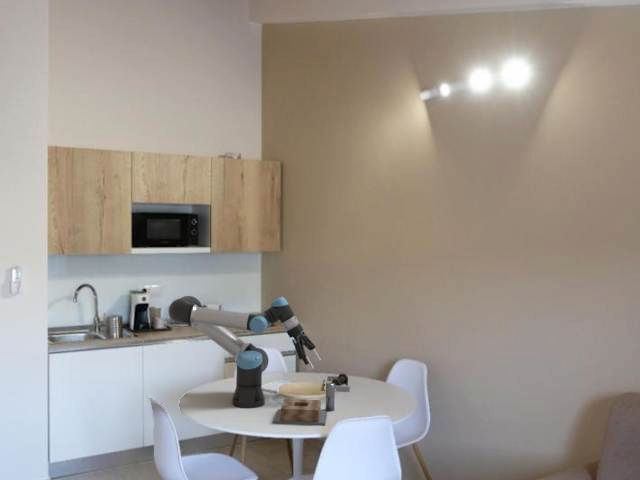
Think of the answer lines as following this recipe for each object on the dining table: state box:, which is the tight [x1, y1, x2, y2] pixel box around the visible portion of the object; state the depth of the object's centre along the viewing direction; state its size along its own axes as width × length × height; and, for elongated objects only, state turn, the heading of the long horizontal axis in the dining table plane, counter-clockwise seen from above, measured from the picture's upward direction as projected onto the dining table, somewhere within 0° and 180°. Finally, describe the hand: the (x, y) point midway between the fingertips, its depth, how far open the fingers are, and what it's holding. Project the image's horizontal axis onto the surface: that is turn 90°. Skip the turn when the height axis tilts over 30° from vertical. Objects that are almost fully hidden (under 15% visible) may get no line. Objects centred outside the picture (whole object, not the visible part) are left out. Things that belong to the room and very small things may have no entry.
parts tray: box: [323, 375, 351, 392], centre depth 351 cm, size 13×22×2 cm, turn 177°
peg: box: [324, 382, 336, 412], centre depth 306 cm, size 4×4×12 cm
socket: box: [272, 398, 328, 426], centre depth 292 cm, size 22×18×6 cm
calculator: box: [261, 379, 295, 394], centre depth 344 cm, size 13×20×2 cm, turn 148°
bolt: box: [330, 373, 348, 386], centre depth 350 cm, size 6×5×15 cm
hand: (315, 365), depth 323 cm, fingers open, 13 cm apart
